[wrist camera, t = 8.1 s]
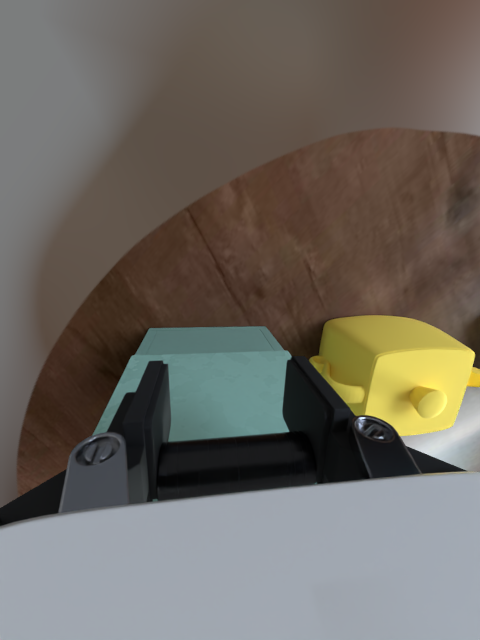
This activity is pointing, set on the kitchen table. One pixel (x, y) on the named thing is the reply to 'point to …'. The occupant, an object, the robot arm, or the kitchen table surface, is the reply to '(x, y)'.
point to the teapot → (396, 370)
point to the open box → (207, 340)
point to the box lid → (223, 424)
